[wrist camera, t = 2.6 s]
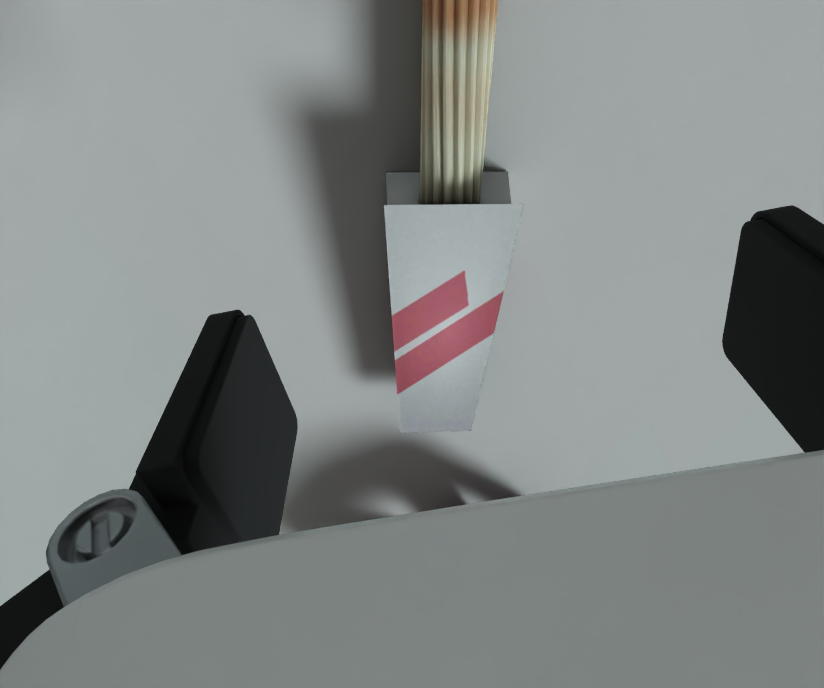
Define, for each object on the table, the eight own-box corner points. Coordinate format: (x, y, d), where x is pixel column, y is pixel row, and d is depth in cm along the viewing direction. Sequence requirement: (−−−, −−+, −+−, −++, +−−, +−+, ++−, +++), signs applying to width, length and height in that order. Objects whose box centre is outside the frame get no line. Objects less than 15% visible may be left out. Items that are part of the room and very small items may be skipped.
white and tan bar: (385, 460, 20) (380, -400, 9) (385, 411, 23) (380, -329, 11) (489, 459, 21) (611, -386, 9) (478, 410, 23) (566, -318, 12)
